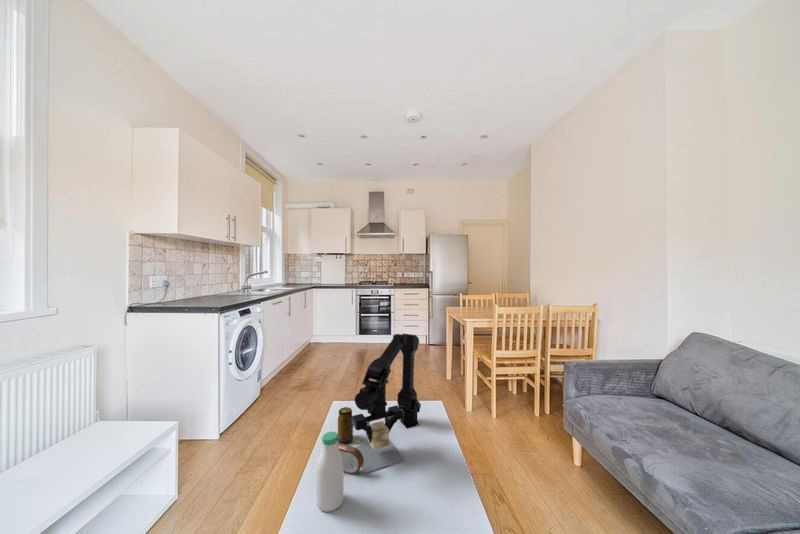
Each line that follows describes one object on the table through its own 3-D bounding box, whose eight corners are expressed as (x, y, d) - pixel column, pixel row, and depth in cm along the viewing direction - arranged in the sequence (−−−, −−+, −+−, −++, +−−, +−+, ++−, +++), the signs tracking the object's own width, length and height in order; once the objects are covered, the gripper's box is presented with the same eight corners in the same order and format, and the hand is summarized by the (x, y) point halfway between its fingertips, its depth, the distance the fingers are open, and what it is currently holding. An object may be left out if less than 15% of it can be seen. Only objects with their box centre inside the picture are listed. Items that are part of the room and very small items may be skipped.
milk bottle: (348, 501, 88) (348, 435, 88) (326, 517, 83) (326, 446, 83) (333, 488, 94) (333, 425, 93) (311, 502, 88) (311, 435, 88)
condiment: (348, 432, 125) (348, 404, 125) (359, 441, 118) (359, 412, 118) (332, 439, 120) (332, 409, 120) (343, 449, 114) (343, 418, 113)
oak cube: (382, 436, 114) (382, 420, 114) (388, 444, 109) (388, 428, 109) (367, 440, 111) (367, 424, 111) (373, 449, 106) (373, 432, 106)
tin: (364, 471, 101) (364, 447, 101) (359, 478, 98) (359, 453, 98) (326, 462, 106) (326, 438, 106) (320, 467, 103) (320, 443, 103)
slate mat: (387, 438, 120) (387, 437, 120) (405, 460, 107) (405, 459, 107) (352, 448, 114) (352, 447, 114) (365, 473, 100) (365, 472, 100)
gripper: (391, 385, 121) (391, 423, 122) (347, 394, 113) (347, 435, 113) (404, 396, 111) (404, 437, 112) (356, 407, 103) (356, 451, 103)
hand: (377, 439), depth 110 cm, fingers closed on oak cube, 6 cm apart
